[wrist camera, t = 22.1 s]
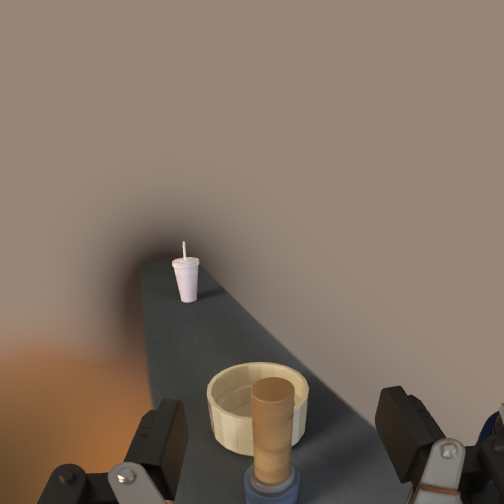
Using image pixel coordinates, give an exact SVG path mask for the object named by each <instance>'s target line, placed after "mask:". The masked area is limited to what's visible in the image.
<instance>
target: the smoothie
mask: <svg viewBox="0 0 504 504" xmlns="http://www.w3.org/2000/svg"><path fill="white" fill-rule="evenodd" d="M183 254H184V258H179V259H176V260H173V261H172V264H173V265H172V266H173V267H174V269H175V274H176V279H177V283H178V287H179V292H180V296H181V300H182V301H183V302H193V301H196V300H197V279H198V265H199V259H197V258H190V257H188V258H186V250H185V241H184V242H183Z"/></svg>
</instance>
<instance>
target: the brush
mask: <svg viewBox="0 0 504 504" xmlns="http://www.w3.org/2000/svg"><path fill="white" fill-rule="evenodd" d="M294 395H295V388H294V386H293V384H292V383H291V382H290V381H288V380H286V379H283V378H278V377H268V378H263V379H260V380H258V381H256V382H255V383H254V384H253V385H252V387H251V412H252V432H253V452H254V463H253V465H252V466H250V467H249V468H248V469H247V471H246V473H245V475H244V486H245V496H246V504H297V498H298V491H299V483H300V474H299V472H298V470H297V469H296V468H295V466H293V465H292V464H291V463H290V461H291V447H292V431H293V414H294Z"/></svg>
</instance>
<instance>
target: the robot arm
mask: <svg viewBox="0 0 504 504" xmlns="http://www.w3.org/2000/svg"><path fill="white" fill-rule="evenodd" d="M499 411H500V413H499V415H498V417H497V418H496V420H495V422H494V424H493V426H492V429H491V435H490V436H488V437H487V438H486V439H485V440H484V442H483V444H482V445H477V446H467V447H464V446H463V444H462V443H461V442H459V441H458V440H455V439H452V438H446V437H445V435H444V433H443V432H442V431H441V429H440V428H439V426H438V425H437V423H436V422H435V420H434V419H433V417H431V415H430V413H429V412H428V410H426V407H425V406H424V405H423V403H422V402H421V401H420V400H419V399H417V398H416V397H414V396H413V395H409V396H407V394H406V393H405V391H404V390H403V388H402V387H401V386H395V387H389V388H384V389H382V391H381V394H380V398H379V403H378V407H377V411H376V415H375V425H376V429H377V431H378V433H379V436H380V438H381V440H382V442H383V444H384V446H385V449H386V451H387V453H388V455H389V457H390V460H391V462H392V464H393V466H394V468H395V471H396V473H397V475H398V477H399V480H400V482H401V484H402V483H406V482H409V481H411V482H412V484H413V486H412V488H411V490H410V493H409V495H408V497H407V500H406V502H405V504H458V503H459V500H460V498H461V500H462V502H463V504H504V404H503V403H502V404H501V407H500V408H499ZM138 427H139V428H138V429H137V431H136V433H135V436H134V438H133V440H132V443H131V445H130V447H129V450H128V452H127V455H126V457H125V459H124V462H123V463H119V464H117V465H115V466H114V467H112V469H111V470H110V471H109V472H108V473H90V474H86V473H85V471H84V470H83V469H82V468H81V467H79V466H78V465H75V464H64V465H61V466H59V467H57V468H56V469H55V470H54V471H53V472H52V474H51V476H50V478H49V480H48V482H47V484H46V487H45V489H44V491H43V493H42V495H41V497H40V499H39V501H38V503H37V504H167V502H166V501H165V500H172V501H174V500H175V496H176V491H177V486H178V482H179V477H180V473H181V468H182V464H183V459H184V455H185V450H186V446H187V441H188V425H187V421H186V416H185V411H184V406H183V402H182V400H174V399H163V400H162V401H161V404H160V407H159V409H158V410H150V411H149V412H148V413H146V414H145V415H144V416H143V417H142V419H141V421H140V424H139V426H138ZM492 481H493V483H494V485H495V487H496V488H497V490H498V492H499V494H498V493H497V491H496V489H495V487H494V486H493V484H492ZM499 495H500V496H499Z"/></svg>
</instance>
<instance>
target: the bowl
mask: <svg viewBox="0 0 504 504" xmlns="http://www.w3.org/2000/svg"><path fill="white" fill-rule="evenodd" d="M268 377H278V378H283V379H286V380H288V381H290V382H291V383H292V384H293V386H294V388H295V395H294V414H293V431H292V446H293V445H295V444H296V443H297V442H298V441H299V440H300V438H301V437H302V436H303V434H304V432H305V427H306V420H307V409H308V397H309V387H308V384H307V381H306V379H305V378H304V377H303V376H302V375H301V374H300V373H299V372H297V371H295V370H293V369H292V368H290V367H287V366H284V365H280V364H276V363H267V362H252V363H244V364H240V365H235V366H232V367H230V368H227V369H225V370H223V371H221V372H220V373H219V374H217V375H216V376H215V377H214V378H213V379H212V380H211V382H210V383H209V385H208V388H207V399H208V406H209V413H210V420H211V426H212V431H213V433H214V435H215V438H216V439H217V441H219V442H220V443H221V444H222V445H223V446H224V447H225V448H227V449H229V450H231V451H233V452H235V453H238V454H242V455H248V456H254V452H253V432H252V412H251V387H252V385H253V384H254V383H255V382H256V381H258V380H260V379H263V378H268Z"/></svg>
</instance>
